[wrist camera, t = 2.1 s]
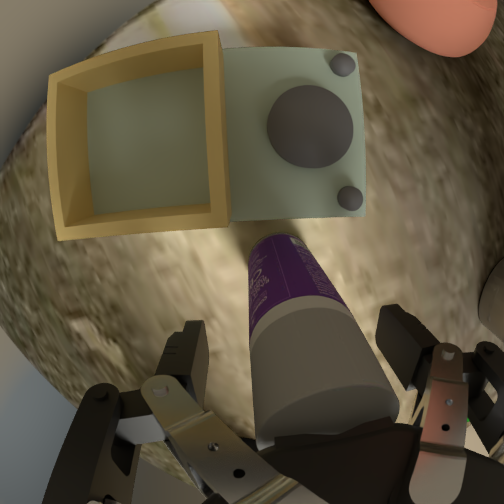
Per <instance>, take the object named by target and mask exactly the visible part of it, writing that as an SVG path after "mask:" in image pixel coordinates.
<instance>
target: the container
mask: <svg viewBox="0 0 504 504" xmlns="http://www.w3.org/2000/svg"><path fill="white" fill-rule="evenodd" d="M248 280H249V348H250V361H251V377H252V392H253V407H254V422H255V437H256V445H257V448H258V450H259V451H260V450H262V449H264V448H267V447H270V446H273V445H274V437H278V436H288V435H297V434H305V433H306V434H330V435H336V434H340V433H343V432H345V431H347V430H349V429H352V428H354V427H356V426H358V425H360V424H362V423H364V422H368V421H372V420H376V419H380V418H384V417H388V416H390V417H391V419H392V421H393V423H395V421H396V419H397V417H398V414H399V400H398V398H397V396H396V394H395V392H394V390H393V388H392V386H391V384H390V382H389V380H388V379H387V377H386V375H385V373H384V371H383V369H382V367H381V365H380V364H379V362H378V360H377V358H376V356H375V354H374V352H373V351H372V349H371V347H370V345H369V343H368V342H367V340H366V338H365V336H364V334H363V333H362V331H361V329H360V327H359V326H358V324H357V322H356V320H355V319H354V317H353V315H352V313H351V312H350V310H349V309H348V307H347V306H346V304H345V303H344V301H343V299H342V298H341V296H340V295H339V293H338V292H337V290H336V289H335V287H334V286H333V284H332V283H331V281H330V280H329V278H328V277H327V275H326V274H325V272H324V271H323V270H322V268H321V267H320V265H319V264H318V262H317V261H316V259H315V258H314V256H313V255H312V253H311V252H310V251H309V249H308V248H307V246H306V245H305V244H304V243H303V242H302V241H301V240H300V239H299V238H297V237H296V236H294V235H291V234H288V233H274V234H270V235H268V236H266V237H264V238H262V239H261V240H260V241H258V242H257V243H256V245H255V246H254V247H253V249H252V251H251V253H250V256H249V263H248Z"/></svg>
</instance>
